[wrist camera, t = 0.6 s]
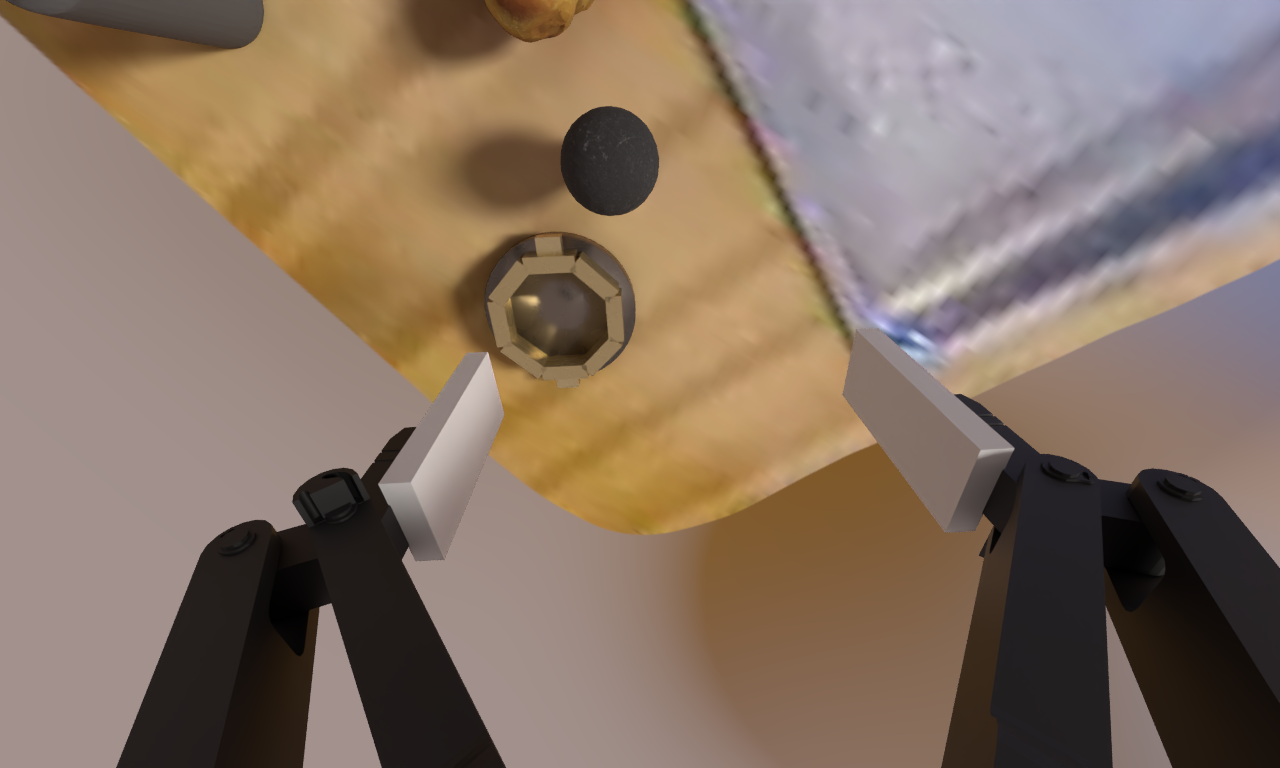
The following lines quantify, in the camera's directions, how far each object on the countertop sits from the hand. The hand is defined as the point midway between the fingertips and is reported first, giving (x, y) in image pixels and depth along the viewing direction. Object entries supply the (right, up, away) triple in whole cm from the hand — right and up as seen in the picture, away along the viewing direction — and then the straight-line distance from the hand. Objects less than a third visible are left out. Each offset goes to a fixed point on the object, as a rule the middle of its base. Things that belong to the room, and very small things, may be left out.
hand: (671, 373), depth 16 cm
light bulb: (-3, +16, +16) cm, 23 cm away
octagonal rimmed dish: (-8, +6, +21) cm, 23 cm away
